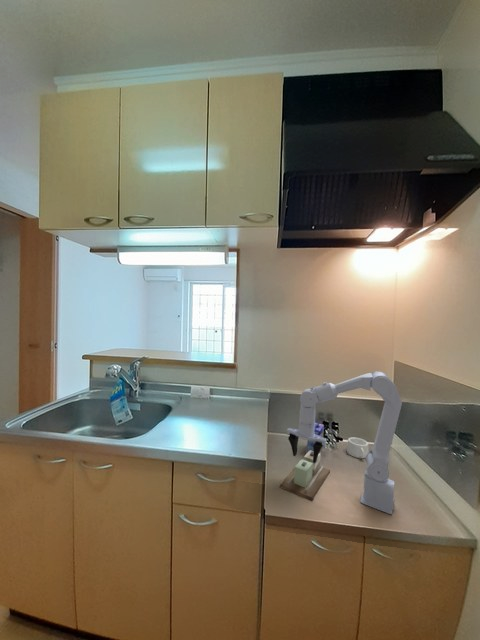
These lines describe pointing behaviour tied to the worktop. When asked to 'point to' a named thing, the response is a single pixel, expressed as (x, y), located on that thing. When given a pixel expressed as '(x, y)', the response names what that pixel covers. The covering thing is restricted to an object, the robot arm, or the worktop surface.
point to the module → (303, 473)
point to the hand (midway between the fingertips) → (304, 458)
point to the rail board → (314, 485)
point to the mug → (357, 447)
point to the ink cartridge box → (318, 431)
